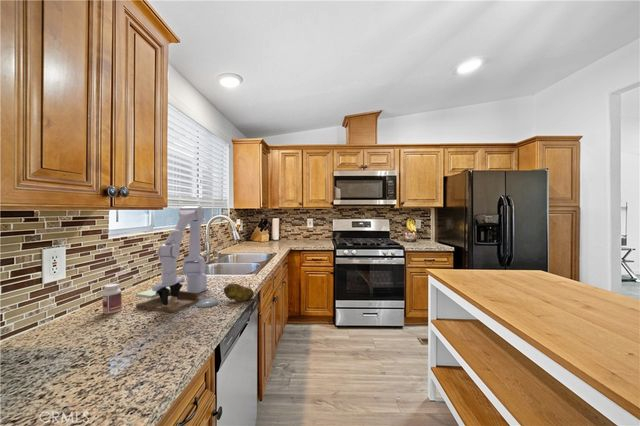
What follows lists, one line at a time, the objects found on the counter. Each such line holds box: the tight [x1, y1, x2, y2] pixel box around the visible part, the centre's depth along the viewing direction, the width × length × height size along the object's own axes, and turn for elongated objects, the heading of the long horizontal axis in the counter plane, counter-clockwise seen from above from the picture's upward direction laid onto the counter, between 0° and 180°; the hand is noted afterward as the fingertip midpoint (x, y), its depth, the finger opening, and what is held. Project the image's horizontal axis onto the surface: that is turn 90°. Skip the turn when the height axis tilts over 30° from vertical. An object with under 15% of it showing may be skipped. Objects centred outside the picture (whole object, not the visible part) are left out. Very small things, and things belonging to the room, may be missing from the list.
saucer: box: [195, 298, 219, 309], centre depth 117 cm, size 9×9×1 cm
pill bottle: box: [102, 283, 123, 315], centre depth 109 cm, size 6×6×11 cm
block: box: [162, 296, 177, 307], centre depth 113 cm, size 4×4×4 cm
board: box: [135, 290, 200, 314], centre depth 117 cm, size 14×21×4 cm, turn 71°
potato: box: [223, 282, 255, 302], centre depth 121 cm, size 8×13×8 cm, turn 92°
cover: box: [135, 287, 171, 300], centre depth 118 cm, size 12×9×2 cm
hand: (169, 302), depth 113 cm, fingers closed on block, 4 cm apart
